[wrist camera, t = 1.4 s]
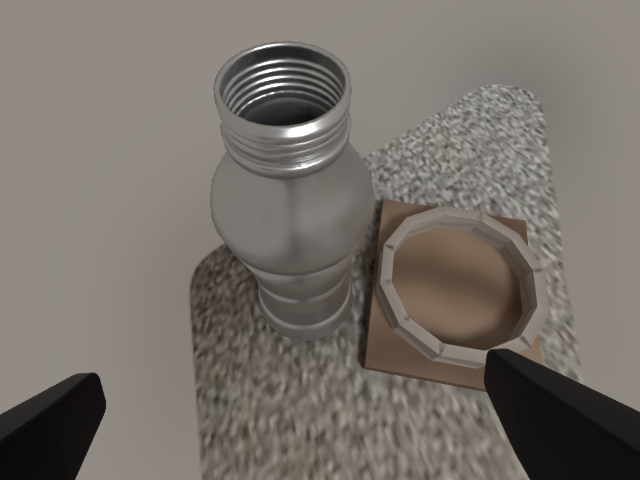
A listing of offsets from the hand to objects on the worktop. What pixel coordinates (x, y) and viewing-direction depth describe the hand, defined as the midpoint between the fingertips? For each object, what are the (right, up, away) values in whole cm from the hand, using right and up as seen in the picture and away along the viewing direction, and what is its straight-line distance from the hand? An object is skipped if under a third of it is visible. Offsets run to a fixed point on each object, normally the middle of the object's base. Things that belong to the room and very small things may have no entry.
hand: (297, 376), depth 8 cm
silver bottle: (-1, -2, +19) cm, 19 cm away
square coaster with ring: (+11, -1, +19) cm, 22 cm away
